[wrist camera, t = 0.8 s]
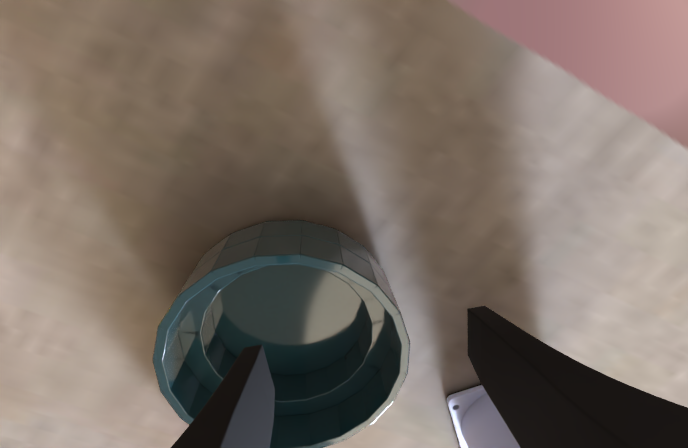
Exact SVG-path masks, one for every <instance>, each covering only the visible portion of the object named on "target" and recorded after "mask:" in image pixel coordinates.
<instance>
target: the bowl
mask: <svg viewBox="0 0 688 448" xmlns="http://www.w3.org/2000/svg"><path fill="white" fill-rule="evenodd" d="M256 345H262V346H263V349H264V353H265V356H266V360H267V363H268V367H269V370H270V374H271V377H272V381H273V384H274V388H275V401H274V421H273V428H272V435H271V442H270V448H323V447H326V446H330V445H333V444H336V443H339V442H342V441H344V440H346V439H348V438H350V437H351V436H353V435H355V434H356V433H358V432H360V431H361V430H363V429H365V428H366V427H368V426H370V425H371V424H372V423H374V422H375V421H376V420H377V418H378V417H379V416H380V415H381V414H382V413H383V412H384V411H385V410H386V409H387V408H388V407H389V406H390V405H391V404H392V403H393V402H394V400H395V398H396V396H397V394H398V392H399V390H400V388H401V386H402V384H403V382H404V380H405V378H406V375H407V373H408V363H409V351H410V340H409V337H408V334H407V331H406V328H405V325H404V322H403V318H402V315H401V312H400V310H399V307H398V305H397V303H396V300H395V298H394V295H393V293H392V290H391V288H390V285H389V283H388V280H387V278H386V275H385V273H384V271H383V269H382V268H381V267H380V265H379V264H378V263H377V262H376V260H375V259H374V258H373V257H372V255H371V254H370V253H369V252H368V250H367V249H366V248H365V247H364V246H362V245H361V244H359V243H358V242H356V241H354V240H353V239H351V238H350V237H348V236H346V235H345V234H343V233H342V232H340V231H339V230H336V229H334V228H330V227H326V226H322V225H318V224H315V223H311V222H307V221H302V220H293V221H266V223H265V222H263V223H260V224H257V225H254V226H252V227H249V228H246V229H243V230H240V231H237V232H234V233H232V234H230V235H228V236H227V237H226V238H225V239H223V240H222V241H221V242H219V243H218V244H217V245H215V246H214V247H213V248H211V249H210V250H209V251H207V252H206V253H205V254H204V255H203V257H202V258H201V260H200V261H199V263H198V264H197V266H196V268H195V269H194V271H193V272H192V274H191V275H190V277H189V279H188V280H187V282H186V283H185V285H184V286H183V288H182V290H181V291H180V293H179V294H178V296H177V297H176V299H175V301H174V302H173V304H172V305H171V307H170V308H169V310H168V312H167V313H166V315H165V316H164V318H163V319H162V321H161V323H160V324H159V326H158V329H157V336H156V342H155V348H154V354H153V364H154V368H155V372H156V376H157V379H158V383H159V387H160V391H161V393H162V394H163V395H164V397H165V398H166V400H167V401H168V402H169V404H170V405H171V406H172V408H173V409H174V410H175V412H176V413H177V414H178V416H179V417H180V418H181V419H182V420H183V421H185V422H186V423H188V424H189V425H190V424H191V423H192V422H193V420H194V419H195V418H196V416H197V415H198V414H199V412H200V411H201V410H202V408H203V407H204V406H205V404H206V403H207V402H208V400H209V399H210V398H211V396H212V395H213V393H214V392H215V390H216V389H217V387H218V386H219V385H220V383H221V382H222V380H223V379H224V377H225V376H226V374H227V373H228V371H229V370H230V368H231V367H232V365H233V364H234V362H235V361H236V359H237V357H238V356H239V354H240V353H241V351H242V350H243V349H244V347H250V346H256Z"/></svg>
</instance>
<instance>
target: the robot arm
mask: <svg viewBox="0 0 688 448" xmlns="http://www.w3.org/2000/svg"><path fill="white" fill-rule="evenodd" d="M468 356H469V358H470V361H471V363H472V365H473V367H474V370H475V372H476V374H477V376H478V378H479V380H480V382H481V384H482V385H479V386H476V387H473V388H470V389H467V390H464V391H461V392H458V393H455V394H451V395H449V396H448V397H447V404H448V408H449V411H450V414H451V418H452V421H453V425H454V428H455V431H456V435H457V438H458V442H459V445H460V448H688V408H687V407H684V406H681V405H678V404H675V403H673V402H670V401H667V400H664V399H662V398H659V397H656V396H654V395H651V394H649V393H646V392H644V391H641V390H639V389H636V388H634V387H632V386H629V385H627V384H624V383H622V382H620V381H617V380H615V379H613V378H611V377H608V376H606V375H604V374H602V373H600V372H598V371H596V370H594V369H592V368H589V367H587V366H585V365H583V364H581V363H579V362H577V361H575V360H574V359H572V358H570V357H568V356H566V355H564V354H563V353H561V352H559V351H557V350H555V349H553V348H552V347H550V346H548V345H547V344H545V343H543V342H541V341H540V340H538V339H536V338H535V337H533V336H531V335H530V334H528V333H527V332H525V331H523V330H522V329H520V328H519V327H517V326H516V325H514V324H512V323H511V322H509V321H508V320H506V319H505V318H503V317H502V316H500V315H498V314H497V313H495V312H494V311H492V310H491V309H489V308H487V307H486V306H481V307H475V308H469V309H468ZM274 401H275V388H274V384H273V381H272V377H271V374H270V370H269V367H268V363H267V360H266V356H265V353H264V349H263V346H262V345H256V346H250V347H244V349H243V350H242V351H241V353H240V354H239V356H238V357H237V359H236V361H235V362H234V364H233V365H232V367H231V368H230V370H229V371H228V373H227V374H226V376H225V377H224V379H223V380H222V382H221V383H220V385H219V386H218V387H217V389H216V390H215V392H214V393H213V395H212V396H211V398H210V399H209V400H208V402H207V403H206V404H205V406H204V407H203V408H202V410H201V411H200V412H199V414H198V415H197V416H196V418H195V419H194V420H193V422H192V423H191V424H190V425H189V427H188V428H187V429H186V430H185V432H184V433H183V434H182V435H181V436H180V438H179V439H178V440H177V441H176V442H175V444H174V445H173V446H172V447H171V448H270V442H271V435H272V428H273V421H274Z"/></svg>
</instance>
